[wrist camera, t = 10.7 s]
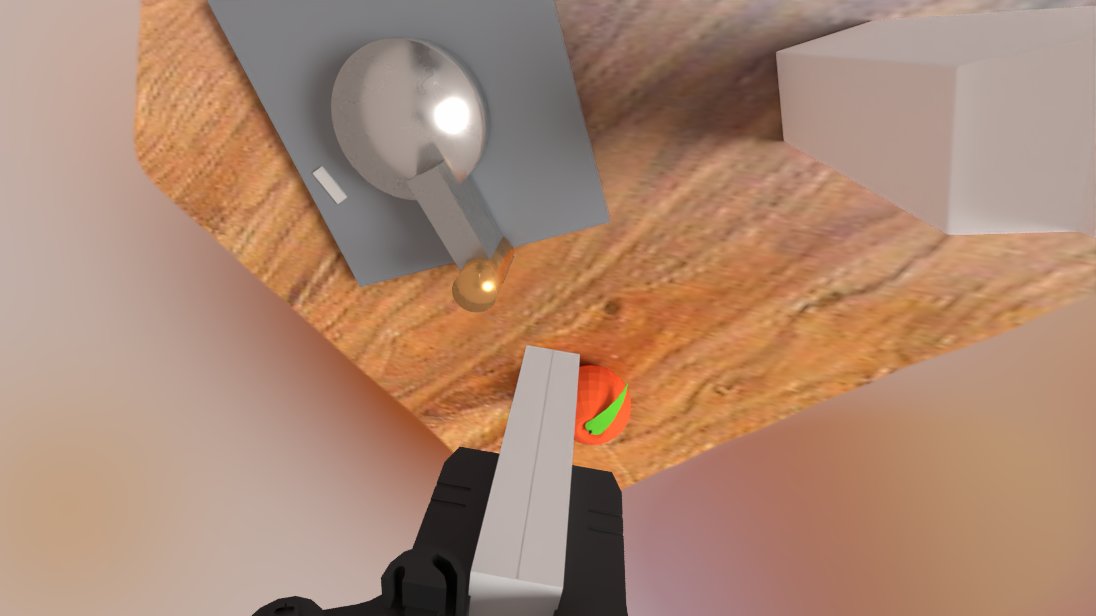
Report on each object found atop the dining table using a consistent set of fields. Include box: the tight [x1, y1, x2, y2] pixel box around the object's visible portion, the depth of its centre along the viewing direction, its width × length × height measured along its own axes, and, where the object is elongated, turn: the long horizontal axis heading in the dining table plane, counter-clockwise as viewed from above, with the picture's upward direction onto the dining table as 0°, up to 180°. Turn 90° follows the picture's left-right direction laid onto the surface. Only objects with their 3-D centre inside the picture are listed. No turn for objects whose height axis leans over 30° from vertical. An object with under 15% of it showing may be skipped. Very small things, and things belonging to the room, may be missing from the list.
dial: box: [331, 38, 514, 312], centre depth 33 cm, size 18×10×7 cm, turn 26°
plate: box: [207, 0, 610, 287], centre depth 35 cm, size 22×22×2 cm
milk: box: [776, 6, 1096, 238], centre depth 23 cm, size 6×6×22 cm
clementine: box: [574, 365, 631, 445], centre depth 43 cm, size 8×7×7 cm
